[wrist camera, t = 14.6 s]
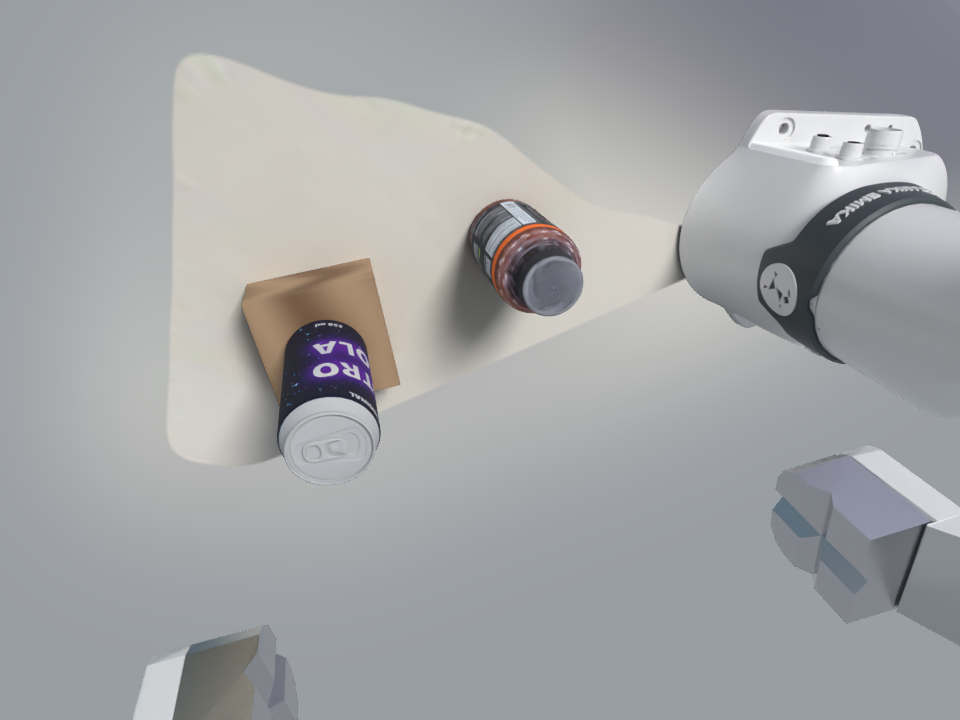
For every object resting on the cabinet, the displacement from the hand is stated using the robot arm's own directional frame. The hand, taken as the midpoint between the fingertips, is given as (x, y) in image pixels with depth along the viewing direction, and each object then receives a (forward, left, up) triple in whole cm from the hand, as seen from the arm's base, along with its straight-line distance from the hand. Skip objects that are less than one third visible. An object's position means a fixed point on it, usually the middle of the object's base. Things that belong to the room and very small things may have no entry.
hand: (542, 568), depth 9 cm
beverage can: (+6, +12, -33) cm, 36 cm away
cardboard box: (+6, +12, -37) cm, 39 cm away
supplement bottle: (-9, +8, -37) cm, 39 cm away
